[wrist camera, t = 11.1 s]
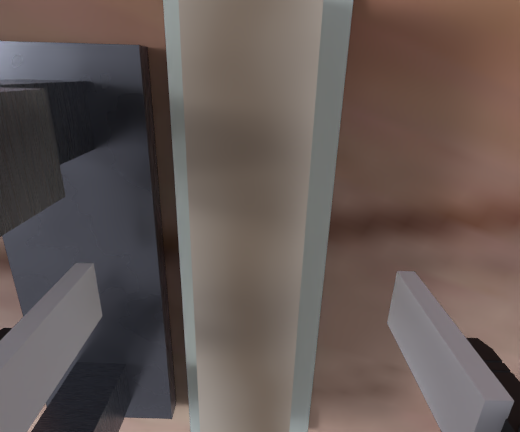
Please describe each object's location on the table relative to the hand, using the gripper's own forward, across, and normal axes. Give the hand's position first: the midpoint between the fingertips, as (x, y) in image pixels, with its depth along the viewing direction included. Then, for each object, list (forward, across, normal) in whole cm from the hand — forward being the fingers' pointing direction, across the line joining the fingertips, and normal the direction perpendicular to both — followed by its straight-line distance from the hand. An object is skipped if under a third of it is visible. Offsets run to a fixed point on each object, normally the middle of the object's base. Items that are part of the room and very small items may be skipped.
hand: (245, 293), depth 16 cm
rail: (+4, 0, 0) cm, 4 cm away
